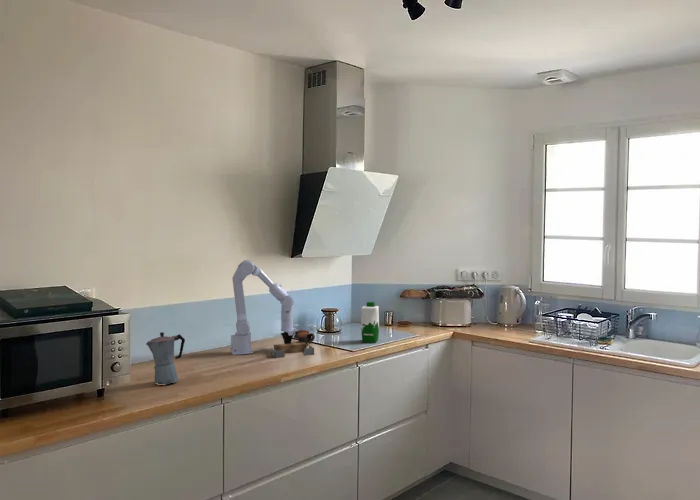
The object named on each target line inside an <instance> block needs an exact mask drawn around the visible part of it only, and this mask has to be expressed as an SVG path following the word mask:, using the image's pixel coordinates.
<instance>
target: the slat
mask: <svg viewBox="0 0 700 500" xmlns="http://www.w3.org/2000/svg"><path fill="white" fill-rule="evenodd" d="M306 348H307V346H306V343H305V342H302V343H296V342H291V343H290V344H284V343H281V344H280V343H279V344H273V349H274V350H275V351H283V350H284V351H285V355H286V354H294V353H295V354H297V353H304V349H306Z"/></svg>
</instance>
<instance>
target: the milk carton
mask: <svg viewBox="0 0 700 500" xmlns="http://www.w3.org/2000/svg"><path fill="white" fill-rule="evenodd" d="M375 303H376V302H374V301H367V302H366V305H363V306H362V307H360V308H361V309H360V310H361V313H360V314H361V315H360V317H361V319H360V320H361V321H360V324H361V325H360V327H361V328H360V329H361V342H362V344H363V343H365V344H366V343H367V344H368V343H369V344H376V343H377V342H378V341H379V335H380V314H379V313H380V311H379V308H380V307H379V305H376V304H375Z"/></svg>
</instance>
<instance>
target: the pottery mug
mask: <svg viewBox="0 0 700 500" xmlns="http://www.w3.org/2000/svg"><path fill="white" fill-rule="evenodd" d="M294 333H295V334H294V336H293V340H298V341H295V343H302V342H305V343H306V347H309V345H312V342H313V341H314V340H315V338H316V335H315V334H314V333H313V332H311V333H310V331H309V330H304V329H303V330H297V331H295V332H294Z"/></svg>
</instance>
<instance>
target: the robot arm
mask: <svg viewBox="0 0 700 500" xmlns="http://www.w3.org/2000/svg"><path fill="white" fill-rule="evenodd" d="M249 275H252V276H255V277H258V279H260V280H261V281H262V282H263V283H264V284H265V285H266V286H267V287H268V291H269V293H270V294H271V295H272V296H273V297H274V298H275V299H276V300H277V301H278V302H279V303H280V305H281V307H280V308H281V309H280V322H281V323H280V331H281V332H280V335H281V337H282V340H283V344H290V343H292V339H293V338H294V335H295V334H294V331H295V330H296V329H297V328H296V327H294V311H293V310H294V309H293V305H294V303H295V302H294V299H293V298H292V296H291V295H290V294H289V292H288V291H286V290H285V289H284V288H283V285H282V284H281V283H280V284H279V283H278V282H277V283H275V282H273V281H272V279H270V277H269V276H268V275H267V274H266V273H265V272H264V271H263V270H262V269H261V268H260V267H259V266H257V265H256V264H255V263H253V262H252V260H250V259H244V260H243V261H241V262H240V263H239V264H238V265H237V267H236V269H235V271H234V273H233V275H232V279H231V280H232V286H233V294H234V302H235V312H236V319H237V320H236V324H235V328H236V331H235V334H231V335H230V352H231V354H232V355H234V356H237V355H246V354H253V353H254V352H253V350H252V336H251V335H252V333H251V326H250V322H249V320H248V317H247V316H248V315H247V308H246V302H245V292H244V284H243V281H244V280H245V279H246V278H247V277H248V276H249Z"/></svg>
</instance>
